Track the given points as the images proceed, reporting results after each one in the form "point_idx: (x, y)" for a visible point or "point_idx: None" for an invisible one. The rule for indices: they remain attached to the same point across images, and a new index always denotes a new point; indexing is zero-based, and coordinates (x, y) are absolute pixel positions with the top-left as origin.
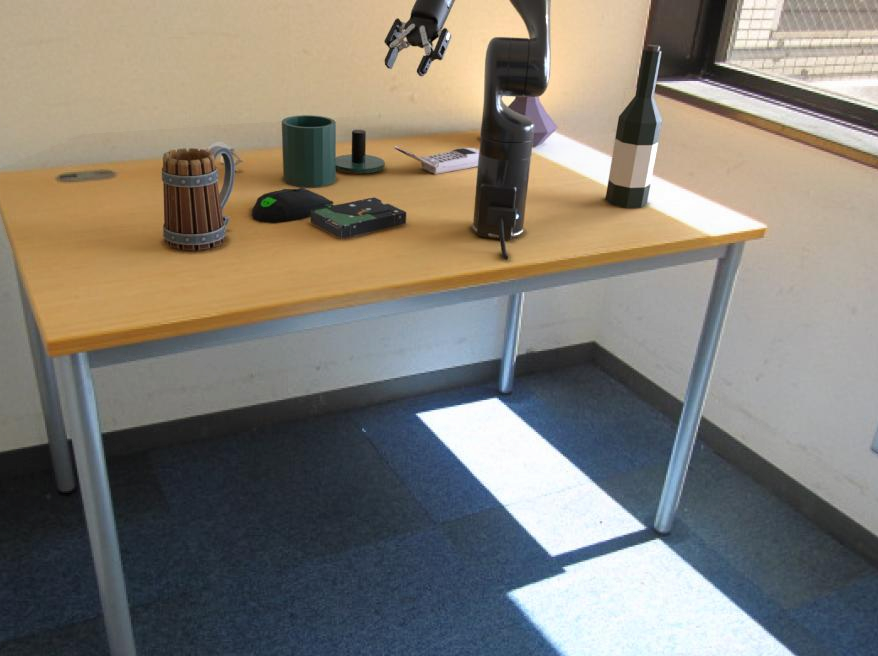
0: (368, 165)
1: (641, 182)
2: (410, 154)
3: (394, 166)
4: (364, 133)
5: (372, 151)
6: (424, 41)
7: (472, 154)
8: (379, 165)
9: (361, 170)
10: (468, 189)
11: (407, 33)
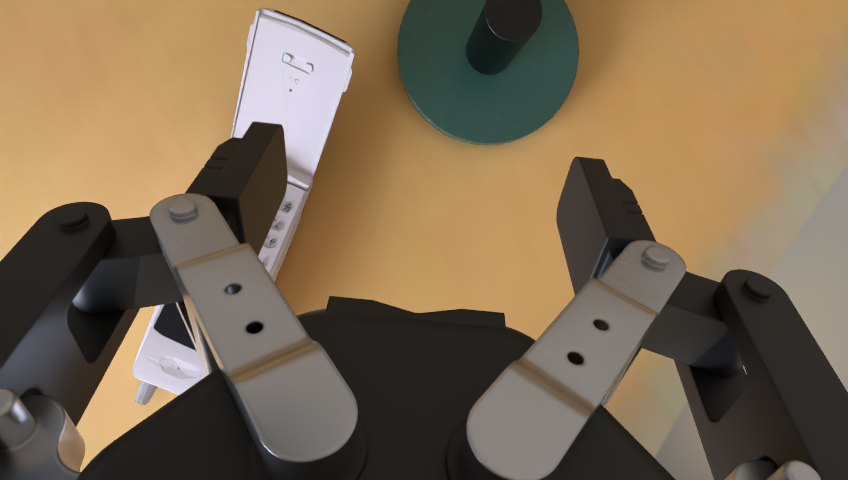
0: (435, 29)
1: None
2: (261, 18)
3: (401, 153)
4: (484, 10)
5: (556, 264)
6: (231, 271)
7: (159, 306)
8: (405, 52)
9: None
10: (66, 71)
11: (538, 342)
